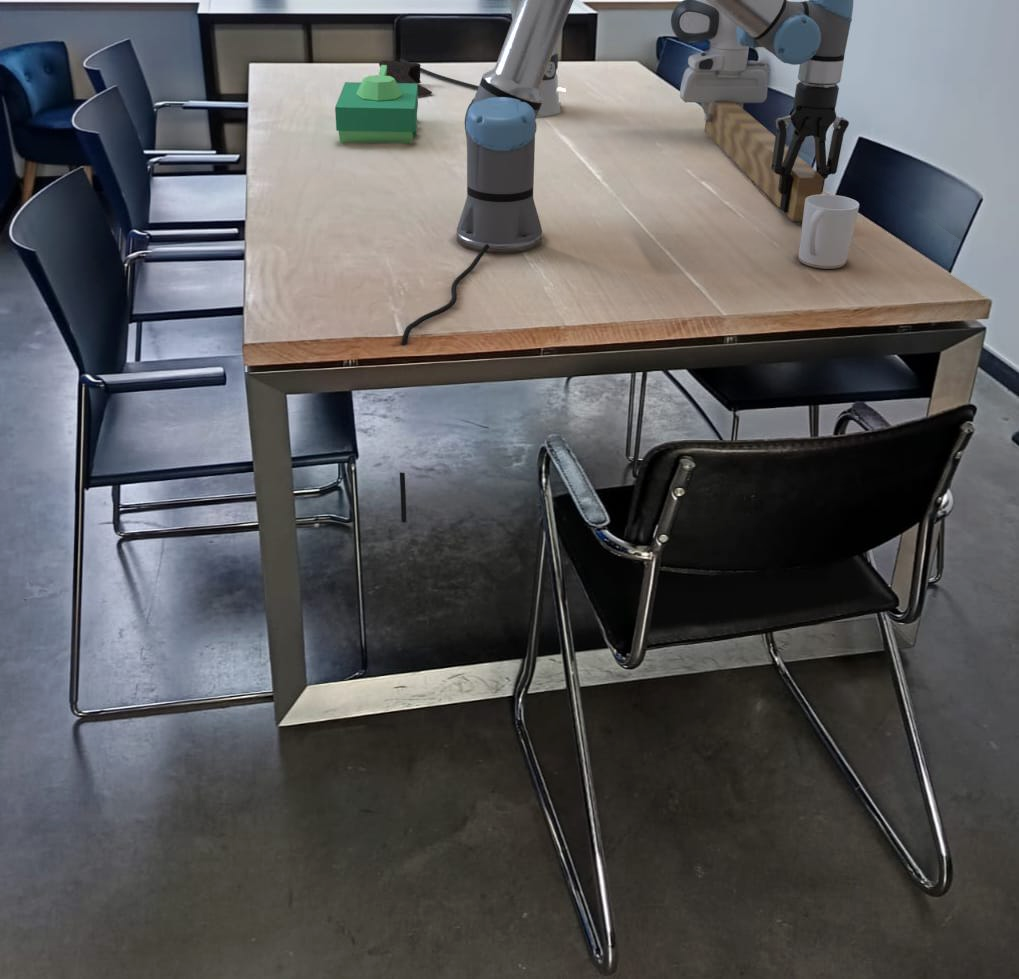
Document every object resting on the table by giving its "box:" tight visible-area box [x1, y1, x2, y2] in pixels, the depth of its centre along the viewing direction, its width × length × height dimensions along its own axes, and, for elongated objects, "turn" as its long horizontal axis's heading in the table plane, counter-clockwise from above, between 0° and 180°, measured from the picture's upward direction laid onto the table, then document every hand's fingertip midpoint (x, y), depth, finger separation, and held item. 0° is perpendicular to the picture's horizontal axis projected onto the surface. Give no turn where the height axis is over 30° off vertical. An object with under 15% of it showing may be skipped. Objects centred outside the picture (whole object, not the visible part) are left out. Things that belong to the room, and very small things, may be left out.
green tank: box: [334, 65, 419, 144], centre depth 261 cm, size 18×12×35 cm
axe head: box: [378, 59, 433, 98], centre depth 299 cm, size 18×8×15 cm
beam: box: [704, 101, 824, 223], centre depth 233 cm, size 70×4×8 cm, turn 5°
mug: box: [798, 193, 860, 270], centre depth 186 cm, size 11×9×10 cm
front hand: (797, 210), depth 209 cm, fingers closed on beam, 4 cm apart
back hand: (719, 121), depth 259 cm, fingers closed on beam, 4 cm apart
